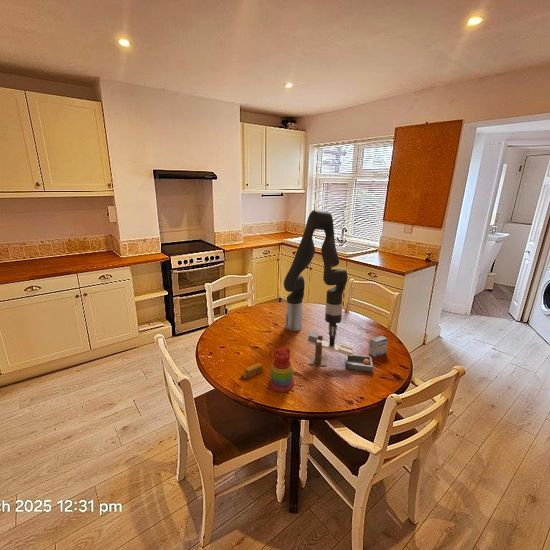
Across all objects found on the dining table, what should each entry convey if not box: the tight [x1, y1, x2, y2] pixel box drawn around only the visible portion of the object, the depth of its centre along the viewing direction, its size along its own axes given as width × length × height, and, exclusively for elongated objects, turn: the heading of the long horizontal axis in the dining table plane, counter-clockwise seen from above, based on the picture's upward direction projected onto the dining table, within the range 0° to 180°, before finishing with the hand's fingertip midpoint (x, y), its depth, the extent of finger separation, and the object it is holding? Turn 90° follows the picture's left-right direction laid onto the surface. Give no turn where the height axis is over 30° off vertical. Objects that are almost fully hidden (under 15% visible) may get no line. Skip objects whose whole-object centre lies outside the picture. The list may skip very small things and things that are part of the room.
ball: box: [363, 359, 370, 365], centre depth 141 cm, size 3×3×3 cm
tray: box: [344, 354, 374, 374], centre depth 142 cm, size 12×9×3 cm
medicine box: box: [368, 335, 388, 358], centre depth 151 cm, size 8×4×9 cm, turn 118°
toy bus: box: [241, 362, 264, 380], centre depth 136 cm, size 3×10×4 cm, turn 127°
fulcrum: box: [309, 334, 328, 367], centre depth 144 cm, size 8×8×12 cm
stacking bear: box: [268, 347, 295, 393], centre depth 126 cm, size 11×10×18 cm
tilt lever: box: [307, 330, 354, 356], centre depth 142 cm, size 22×6×4 cm, turn 78°
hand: (331, 344), depth 142 cm, fingers closed
